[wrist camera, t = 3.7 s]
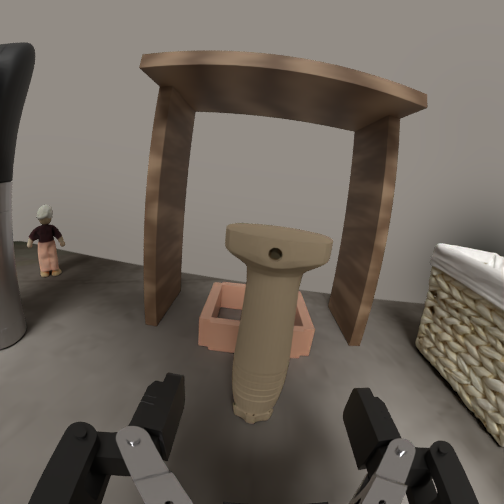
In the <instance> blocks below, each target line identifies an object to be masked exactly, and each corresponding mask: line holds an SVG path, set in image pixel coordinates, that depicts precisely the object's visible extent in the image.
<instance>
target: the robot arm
mask: <svg viewBox="0 0 504 504" xmlns="http://www.w3.org/2000/svg"><path fill="white" fill-rule="evenodd" d="M34 64H35V50H34V47H33V46H32V45H31V44H29V43H10V44H1V45H0V349H3V348H6V347H8V346H10V345H12V344H14V343H15V342H17V341H18V340H19V339H20V338H21V337H22V336H23V335H24V333H25V331H26V326H27V325H26V321H25V316H24V312H23V307H22V302H21V297H20V291H19V285H18V279H17V272H16V264H15V256H14V245H13V230H12V182H11V181H12V177H13V163H14V155H15V147H16V139H17V133H18V128H19V123H20V118H21V114H22V110H23V106H24V103H25V99H26V96H27V92H28V89H29V85H30V81H31V77H32V73H33V69H34ZM184 404H185V386H184V375H179V374H173V373H167V375H166V377H165V379H164V381H163V382H160V381H155V382H153V383H152V384H151V385H149V386H148V388H147V390H146V392H145V394H144V396H143V398H142V400H141V402H140V404H139V406H138V408H137V410H136V412H135V414H134V416H133V418H132V420H131V422H130V424H129V426H127V427H124V428H122V429H120V430H119V431H118V432H114V433H110V432H97V431H96V430H95V428H94V427H93V426H92V425H90V424H88V423H85V422H76V423H73V424H71V425H70V426H69V427H68V428H67V429H66V431H65V433H64V435H63V436H62V438H61V440H60V442H59V444H58V445H57V447H56V449H55V451H54V453H53V455H52V457H51V458H50V460H49V462H48V464H47V466H46V468H45V470H44V472H43V474H42V476H41V478H40V480H39V482H38V484H37V486H36V488H35V490H34V492H33V494H32V496H31V499H30V501H29V503H28V504H101V503H102V500H103V497H104V494H105V491H106V488H107V485H108V482H109V479H110V476H111V475H117V476H131V477H132V479H133V481H134V483H135V485H136V487H137V489H138V491H139V493H140V495H141V497H142V499H143V501H144V503H145V504H193V502H192V501H191V499H190V498H189V497H188V495H187V494H186V492H185V491H184V489H183V488H182V486H181V485H180V483H179V482H178V480H177V478H176V477H175V475H174V474H173V473H172V472H171V471H169V470H168V468H167V467H166V465H165V463H164V461H163V460H165V461H168V459H169V455H170V452H171V449H172V445H173V442H174V439H175V435H176V432H177V429H178V426H179V422H180V419H181V416H182V413H183V409H184ZM343 421H344V424H345V427H346V431H347V434H348V437H349V440H350V444H351V447H352V450H353V454H354V457H355V460H356V464H357V467H358V470H361V469H367V471H368V473H367V474H366V475H365V477H364V479H363V481H362V482H361V484H360V486H359V488H358V489H357V491H356V493H355V494H354V496H353V498H352V499H351V501H350V502H349V504H401V502H402V500H403V497H404V495H405V492H406V495H407V498H408V502H409V504H479V503H478V500H477V498H476V496H475V493H474V491H473V489H472V486H471V484H470V482H469V480H468V478H467V475H466V473H465V471H464V469H463V467H462V465H461V463H460V461H459V459H458V457H457V455H456V453H455V451H454V449H453V447H452V446H451V445H450V444H449V443H448V442H445V441H436V442H434V443H433V444H432V445H431V447H430V448H418V447H415V446H414V445H413V444H412V443H411V442H410V441H409V440H406V439H402V438H401V436H400V434H399V432H398V430H397V428H396V426H395V424H394V422H393V419H392V418H391V415H390V413H389V412H388V409H387V407H386V405H385V403H384V402H383V401H382V400H380V399H379V398H378V397H374V396H373V394H372V392H371V390H370V388H354V389H353V390H352V393H351V395H350V397H349V400H348V402H347V404H346V406H345V409H344V412H343ZM432 479H433V480H434V483H435V485H436V488H437V492H436V489H435V486H434V484H433V481H432ZM223 504H241V503H230V502H223ZM311 504H328V502H323V503H311Z"/></svg>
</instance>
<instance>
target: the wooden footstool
mask: <svg viewBox="0 0 504 504" xmlns="http://www.w3.org/2000/svg"><path fill="white" fill-rule="evenodd" d="M139 68H140V69H141V70H142V71H143V72H144V73H146V74H147V75H148V76H149V77H150V78H151V79H152V80H153V81H154V82H155V83H157V84H158V85H159V86H160V88H159V94H158V100H157V106H156V111H155V118H154V124H153V131H152V140H151V147H150V155H149V165H148V175H147V187H146V202H145V221H144V304H145V323H146V324H147V325H153V326H157V325H158V323H159V322H160V320H161V319H162V318H163V316H164V315H165V313H166V312H167V310H168V309H169V307H170V306H171V304H172V303H173V301H174V300H175V298H176V297H177V295H178V294H179V293H180V291H181V264H182V243H183V226H184V211H185V199H186V187H187V177H188V167H189V158H190V149H191V141H192V133H193V126H194V119H195V112H219V113H234V114H246V115H257V116H266V117H274V118H282V119H289V120H296V121H302V122H309V123H314V124H320V125H325V126H330V127H335V128H340V129H345V130H350V131H354V132H355V134H354V147H353V157H352V158H353V159H352V167H351V176H350V184H349V192H348V200H347V207H346V214H345V221H344V227H343V233H342V239H341V245H340V251H339V256H338V262H337V267H336V273H335V277H334V282H333V287H332V292H331V296H330V301H329V305H328V307H329V309H330V311H331V313H332V315H333V316H334V318H335V320H336V322H337V324H338V326H339V328H340V329H341V331H342V333H343V335H344V337H345V339H346V341H347V343H348V345H349V346H360V343H361V340H362V337H363V333H364V330H365V327H366V324H367V320H368V317H369V313H370V310H371V306H372V302H373V298H374V295H375V291H376V287H377V282H378V278H379V274H380V270H381V265H382V261H383V256H384V250H385V246H386V241H387V235H388V229H389V223H390V218H391V211H392V205H393V197H394V189H395V181H396V171H397V160H398V148H399V129H400V118H403V117H405V116H408V115H410V114H413V113H415V112H418V111H420V110H423V109H426V108H427V94H424V93H422V92H420V91H417V90H415V89H412V88H409V87H407V86H404V85H402V84H399V83H396V82H393V81H390V80H387V79H384V78H381V77H377V76H375V75H371V74H368V73H365V72H361V71H357V70H354V69H350V68H346V67H342V66H338V65H333V64H329V63H324V62H319V61H314V60H308V59H303V58H296V57H290V56H283V55H275V54H265V53H254V52H240V51H177V52H162V53H152V54H143V55H142V59H141V63H140V67H139Z"/></svg>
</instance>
